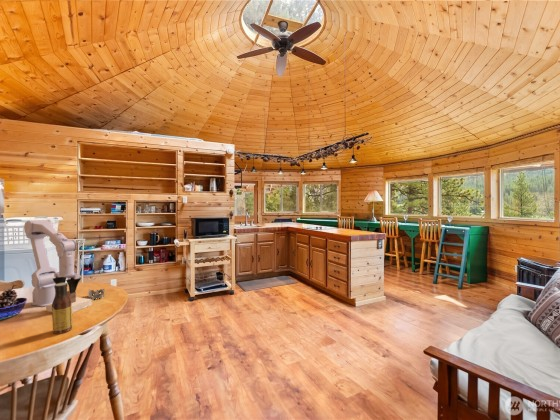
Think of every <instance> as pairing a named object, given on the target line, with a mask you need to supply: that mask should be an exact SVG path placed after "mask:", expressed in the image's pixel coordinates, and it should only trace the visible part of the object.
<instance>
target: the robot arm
mask: <svg viewBox="0 0 560 420" xmlns="http://www.w3.org/2000/svg"><path fill="white" fill-rule="evenodd" d="M23 227H24V234H25V236H26V238H28V239H29V240H30V243H31V244H30V245H31V249H32V252H33V257H34V262H35V266H36V270H35V271H34V272H33V273H31V284H32V287H33V290H32V293H31V295H32V303H30V305H31V306H37V307H46V305H48V304H51V303H53V300H54V298H55V288H54V286H55V285H56V284H59V283H67V286H68V291H70V293H74V292H76V291H77V287H78V285H79V283H80V281H81V279H82V278H81V277H80V275H81V274H79V273H76V272H75V259H74V258H75V251H76V250H77V243H76V241H75V240H74V239H69V238H68V237H67V236H66V235H64V234H63V233H62V232H57V231H56V230H55V229H54V225H53V221H52V220H51V219H43V220H41V219H40V220H27V221H25V224H24V226H23ZM45 237H49V241H50V242H51V244H53V246H55V250H56V253H57V257H58V271H57V268H55V267H52V266H50V260H49V256H48V252H47V249H46V248H47V247H46V245H45V241H44V239H45Z"/></svg>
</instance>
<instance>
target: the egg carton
mask: <svg viewBox="0 0 560 420" xmlns="http://www.w3.org/2000/svg"><path fill="white" fill-rule="evenodd" d="M100 292H101V294H99V293H100ZM105 292H106V291H105V288H102V289H96V290H95V289H88V294H87V295H88V299H92V300H93V301H95V300H97V299H96V298H102V297H104V298H105ZM92 294H94V295H92ZM94 299H95V300H94ZM102 299H103V298H102Z"/></svg>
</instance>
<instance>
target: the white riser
mask: <svg viewBox="0 0 560 420" xmlns="http://www.w3.org/2000/svg"><path fill="white" fill-rule="evenodd" d="M71 304H72V314H73V313H75V312H78V311H80V310H83V309H85V308H88V307H90V306H92V305H93V302H92V299H89V298H86V297H85V298H84V297H79V296H76V302H74V303H71ZM45 311H46V312H49V313H52V303H51V304H48V305H46V306H45Z"/></svg>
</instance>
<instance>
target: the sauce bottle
mask: <svg viewBox="0 0 560 420" xmlns="http://www.w3.org/2000/svg"><path fill="white" fill-rule="evenodd" d="M54 288H55V298H54V300H53V303H52V312H51V316H52V317H51V321H52V331H53V334H57V335H60V334H61V335H62V334H65V333H67V332H69V331H71V330H72V328H73V313H72V304H71V298H70V296H69V295H68V294H67V291H68V283H67V282H65V283H59V284H56V285H55V286H54Z"/></svg>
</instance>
